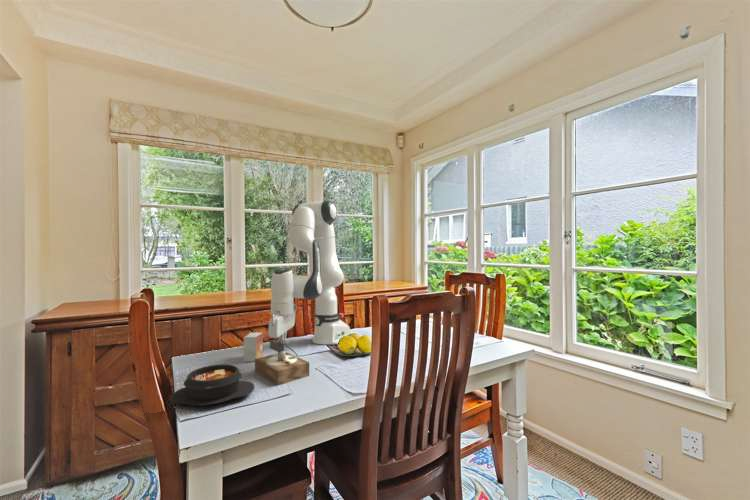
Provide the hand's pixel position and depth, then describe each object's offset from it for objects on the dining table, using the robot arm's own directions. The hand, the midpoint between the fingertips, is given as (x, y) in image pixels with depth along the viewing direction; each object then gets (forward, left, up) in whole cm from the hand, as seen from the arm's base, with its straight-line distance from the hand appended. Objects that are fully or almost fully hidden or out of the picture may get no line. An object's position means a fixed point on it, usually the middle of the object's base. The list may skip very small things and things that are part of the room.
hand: (282, 343), depth 138 cm
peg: (+3, +5, -4) cm, 8 cm away
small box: (+3, -18, -10) cm, 21 cm away
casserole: (+29, +9, -10) cm, 32 cm away
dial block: (+3, +6, -10) cm, 12 cm away
